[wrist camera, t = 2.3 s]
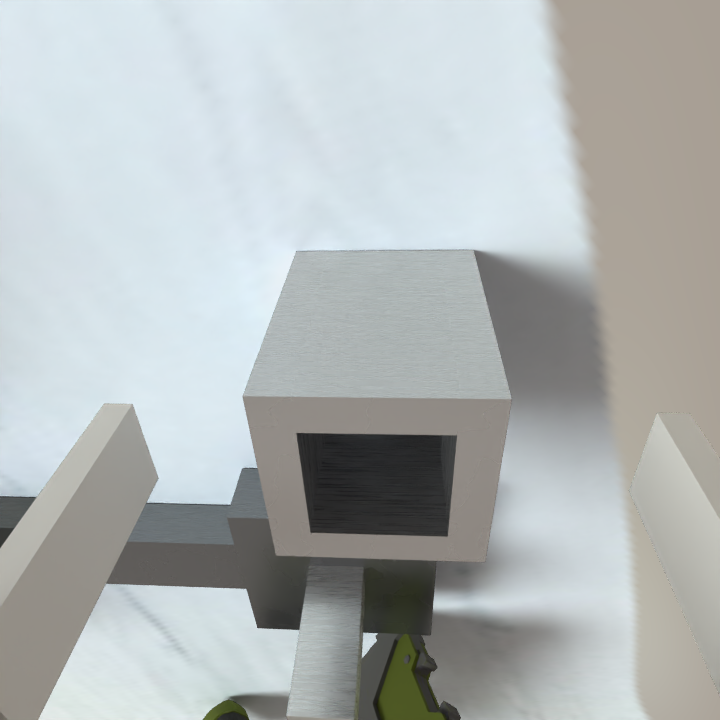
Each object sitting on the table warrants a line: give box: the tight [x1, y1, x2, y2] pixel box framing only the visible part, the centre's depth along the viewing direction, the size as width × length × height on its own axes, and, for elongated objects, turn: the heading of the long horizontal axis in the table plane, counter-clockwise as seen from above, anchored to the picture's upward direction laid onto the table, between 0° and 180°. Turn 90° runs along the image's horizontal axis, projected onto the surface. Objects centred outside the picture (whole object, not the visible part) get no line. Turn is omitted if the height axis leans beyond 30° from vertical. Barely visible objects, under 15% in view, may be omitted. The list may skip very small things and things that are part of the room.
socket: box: [243, 250, 512, 562], centre depth 15 cm, size 5×5×7 cm
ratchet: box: [0, 468, 436, 720], centre depth 22 cm, size 8×21×8 cm, turn 92°
